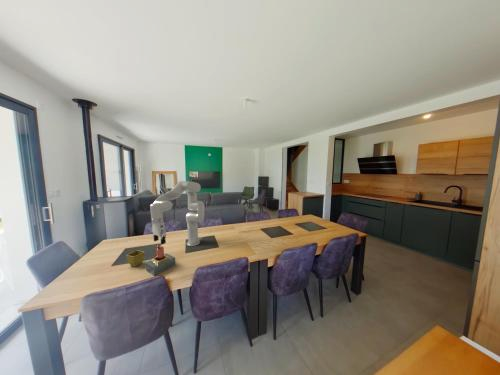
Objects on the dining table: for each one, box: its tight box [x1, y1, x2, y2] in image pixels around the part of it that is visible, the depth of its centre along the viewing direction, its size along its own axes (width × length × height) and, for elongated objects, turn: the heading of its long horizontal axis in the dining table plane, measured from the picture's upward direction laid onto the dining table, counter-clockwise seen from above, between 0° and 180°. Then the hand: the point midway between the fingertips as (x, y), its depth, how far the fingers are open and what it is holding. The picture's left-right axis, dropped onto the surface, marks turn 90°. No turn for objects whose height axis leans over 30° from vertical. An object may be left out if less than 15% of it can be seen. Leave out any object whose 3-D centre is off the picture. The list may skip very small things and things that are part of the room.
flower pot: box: [125, 250, 145, 267], centre depth 130 cm, size 9×9×9 cm
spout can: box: [156, 244, 165, 261], centre depth 125 cm, size 5×5×15 cm
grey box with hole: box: [144, 253, 176, 276], centre depth 125 cm, size 16×12×8 cm
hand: (159, 242), depth 124 cm, fingers open, 9 cm apart
